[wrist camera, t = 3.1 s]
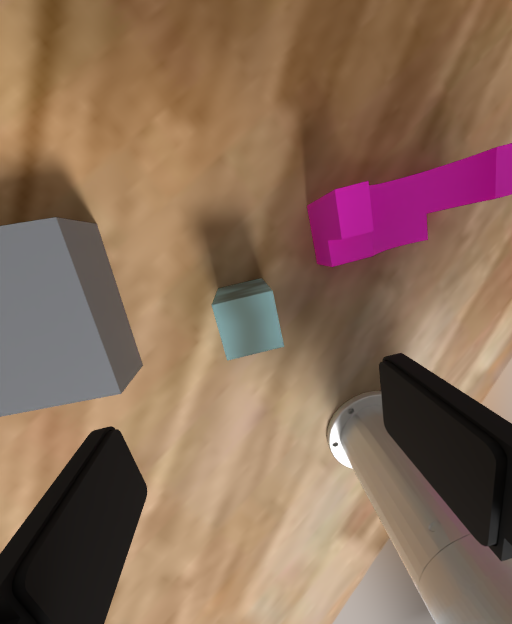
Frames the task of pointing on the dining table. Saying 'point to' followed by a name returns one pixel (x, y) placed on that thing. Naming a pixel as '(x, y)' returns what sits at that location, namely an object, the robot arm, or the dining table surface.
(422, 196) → the toy block
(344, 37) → the dining table surface
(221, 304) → the teal block
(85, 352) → the plinth
